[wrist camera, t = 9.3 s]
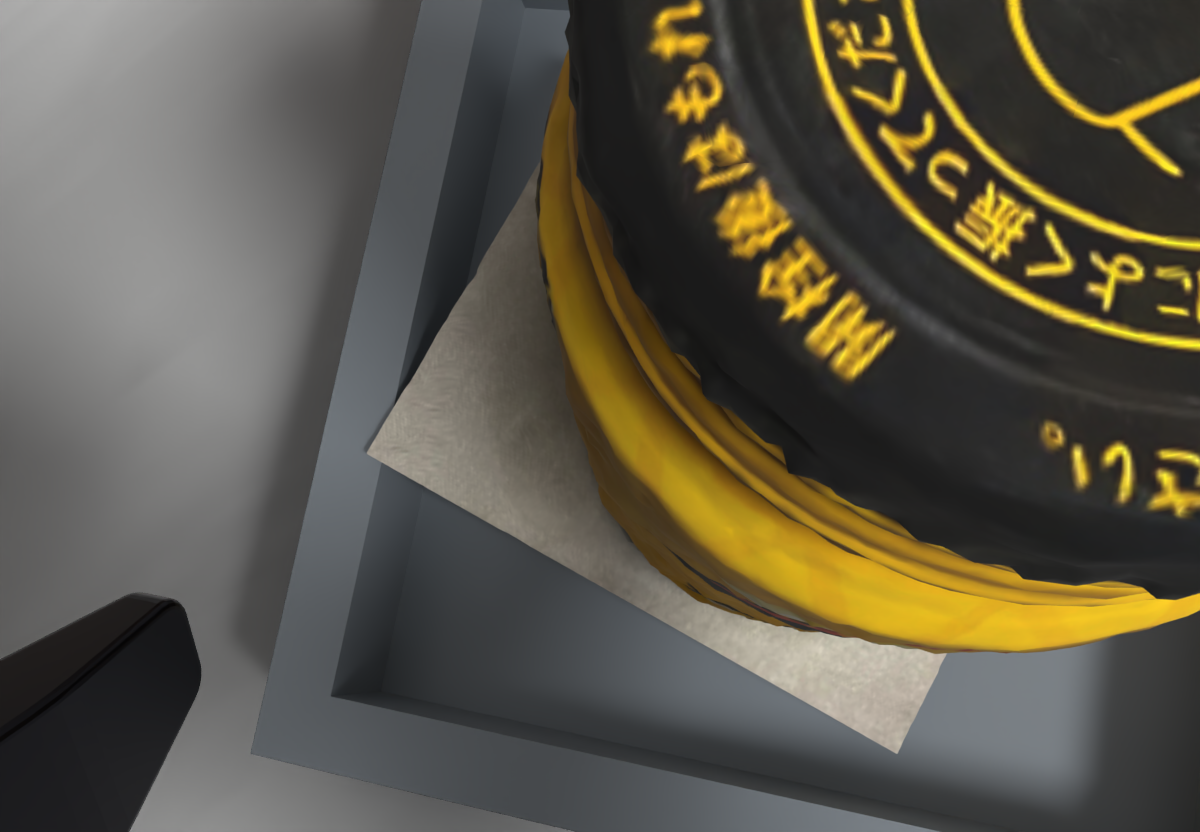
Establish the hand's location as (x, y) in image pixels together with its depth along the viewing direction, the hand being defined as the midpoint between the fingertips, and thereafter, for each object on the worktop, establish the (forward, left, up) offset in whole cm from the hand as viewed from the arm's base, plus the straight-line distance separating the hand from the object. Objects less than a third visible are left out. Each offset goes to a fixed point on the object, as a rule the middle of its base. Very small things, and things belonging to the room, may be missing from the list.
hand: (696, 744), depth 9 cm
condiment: (+4, +2, -7) cm, 9 cm away
